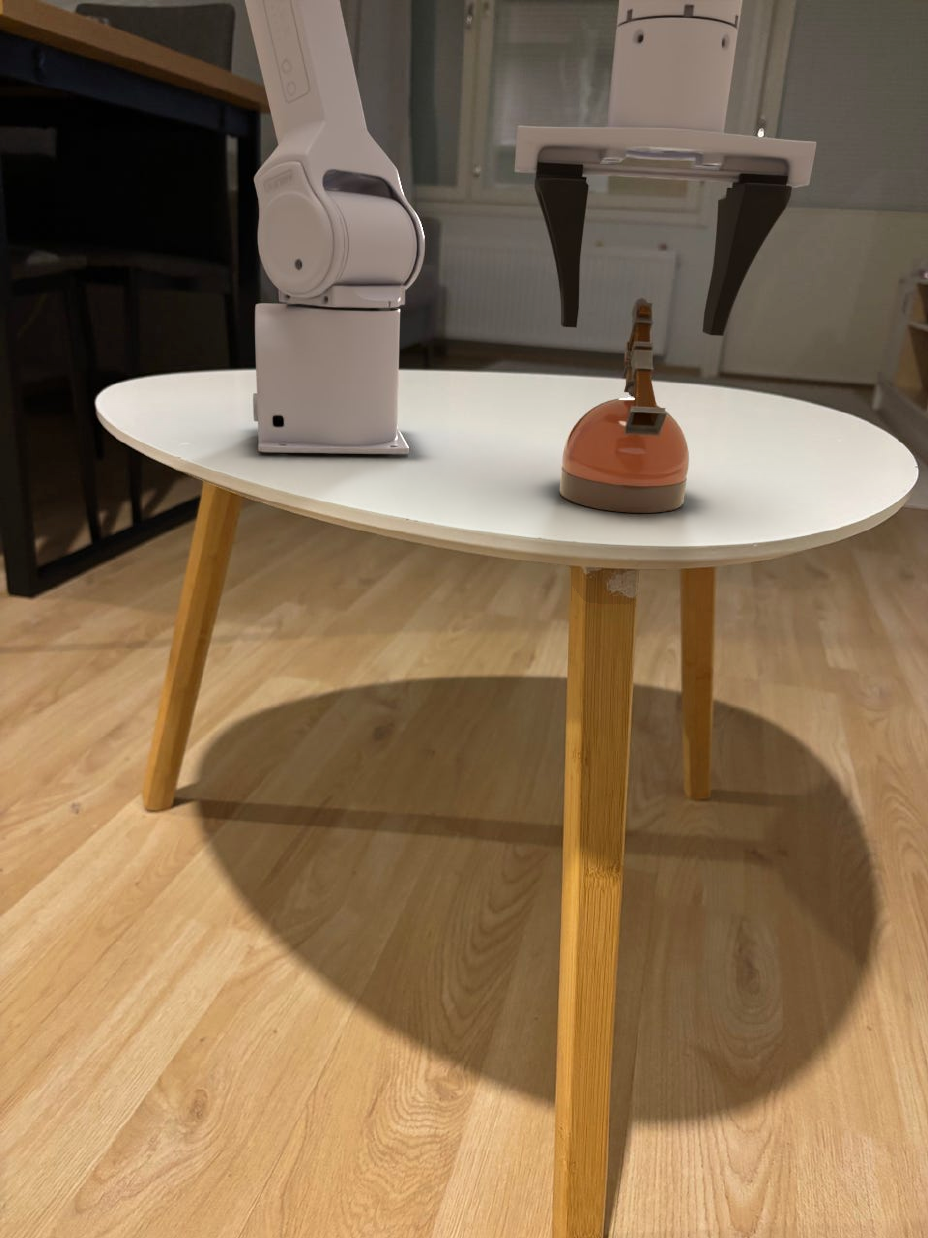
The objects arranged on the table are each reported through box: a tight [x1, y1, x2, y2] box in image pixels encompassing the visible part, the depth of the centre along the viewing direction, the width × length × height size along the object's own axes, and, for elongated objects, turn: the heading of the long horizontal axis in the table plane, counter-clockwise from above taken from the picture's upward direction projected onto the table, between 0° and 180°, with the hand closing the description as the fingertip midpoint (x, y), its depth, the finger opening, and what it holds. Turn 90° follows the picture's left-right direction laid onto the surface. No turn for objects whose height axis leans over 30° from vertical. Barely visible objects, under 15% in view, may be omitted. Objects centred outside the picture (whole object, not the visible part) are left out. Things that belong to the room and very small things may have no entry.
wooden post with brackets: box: [621, 297, 668, 436], centre depth 48 cm, size 2×8×4 cm
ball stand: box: [559, 397, 690, 514], centre depth 51 cm, size 7×7×7 cm
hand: (640, 330), depth 48 cm, fingers open, 7 cm apart
